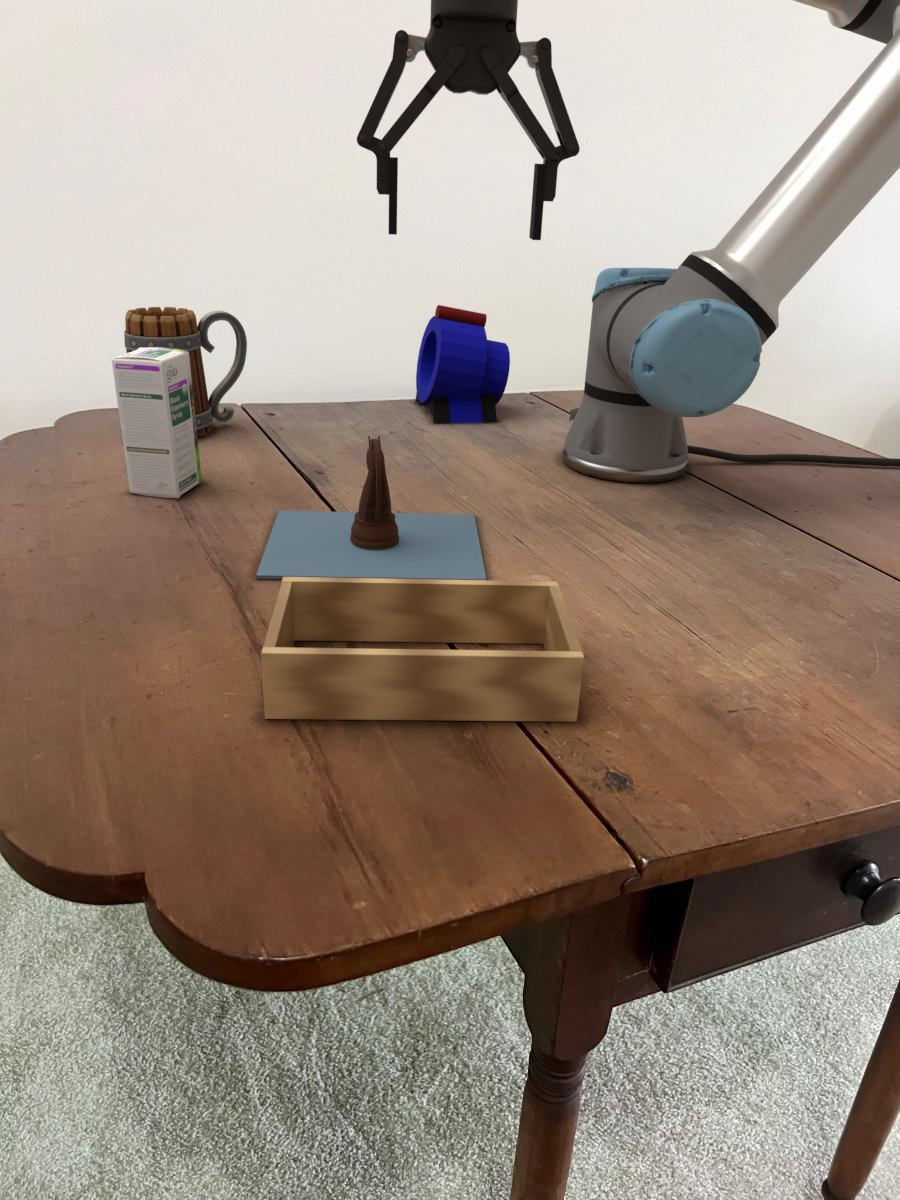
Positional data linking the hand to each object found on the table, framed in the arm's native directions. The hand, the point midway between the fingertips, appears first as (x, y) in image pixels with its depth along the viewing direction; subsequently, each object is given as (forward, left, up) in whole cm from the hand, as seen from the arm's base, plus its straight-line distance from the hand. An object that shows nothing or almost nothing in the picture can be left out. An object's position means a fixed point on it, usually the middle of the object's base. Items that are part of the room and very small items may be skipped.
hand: (464, 236), depth 88 cm
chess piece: (+8, +13, -26) cm, 31 cm away
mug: (+33, -25, -27) cm, 49 cm away
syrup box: (+31, -2, -27) cm, 41 cm away
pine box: (+4, +37, -27) cm, 46 cm away
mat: (+8, +13, -27) cm, 31 cm away
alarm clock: (-3, -39, -27) cm, 47 cm away
